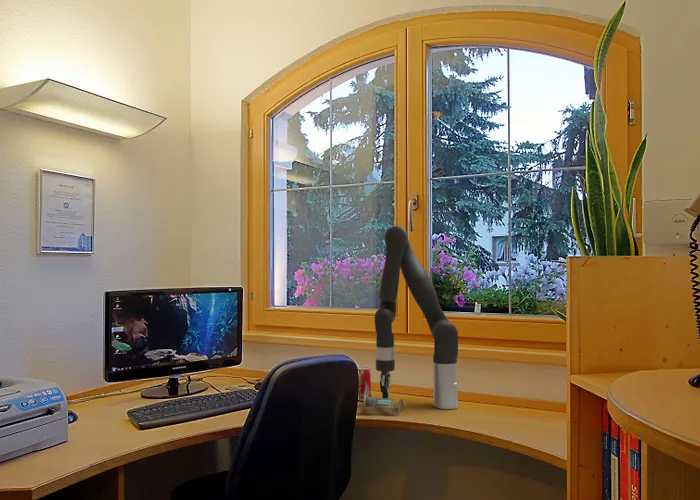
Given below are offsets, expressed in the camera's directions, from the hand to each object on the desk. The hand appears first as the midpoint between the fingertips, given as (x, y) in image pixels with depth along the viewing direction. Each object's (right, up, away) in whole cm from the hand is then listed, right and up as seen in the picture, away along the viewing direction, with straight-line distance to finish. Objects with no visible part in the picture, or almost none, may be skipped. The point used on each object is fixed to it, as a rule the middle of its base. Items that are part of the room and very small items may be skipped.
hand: (385, 402), depth 216 cm
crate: (-2, -2, -6) cm, 6 cm away
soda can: (-9, -2, +11) cm, 14 cm away
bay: (-2, -1, -6) cm, 7 cm away
